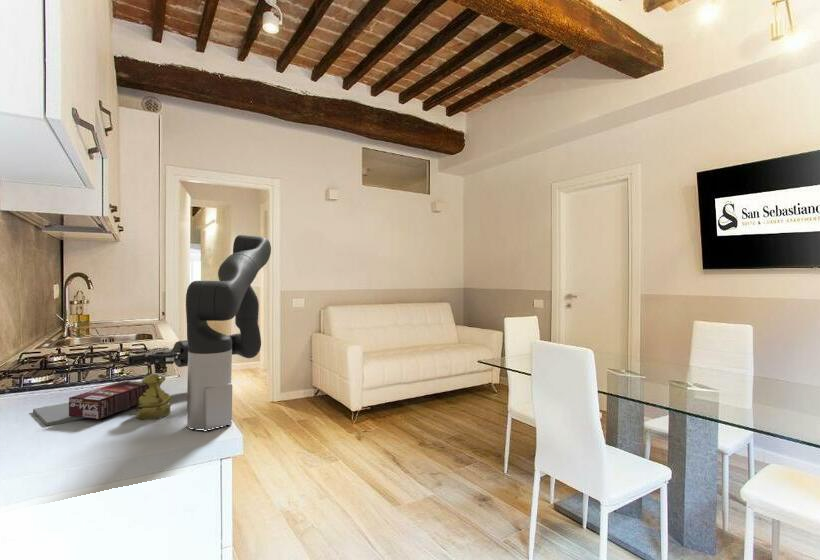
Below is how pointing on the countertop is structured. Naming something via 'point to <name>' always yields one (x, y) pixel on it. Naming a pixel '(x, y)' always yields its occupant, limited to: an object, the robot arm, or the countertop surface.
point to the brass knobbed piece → (153, 399)
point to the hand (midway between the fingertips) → (127, 360)
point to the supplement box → (106, 400)
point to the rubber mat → (56, 414)
